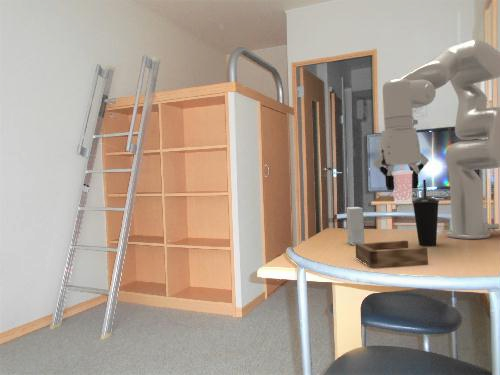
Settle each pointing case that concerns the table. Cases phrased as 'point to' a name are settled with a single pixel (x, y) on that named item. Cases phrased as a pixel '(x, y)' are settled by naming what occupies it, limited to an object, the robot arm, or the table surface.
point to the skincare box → (355, 225)
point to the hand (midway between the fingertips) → (402, 188)
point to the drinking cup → (426, 218)
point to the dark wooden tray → (391, 254)
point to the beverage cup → (402, 186)
